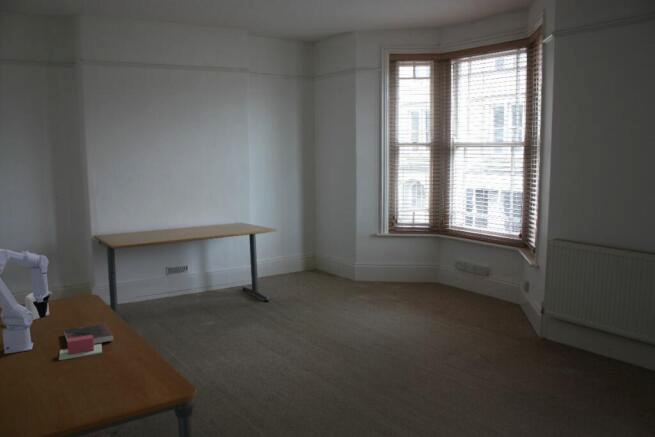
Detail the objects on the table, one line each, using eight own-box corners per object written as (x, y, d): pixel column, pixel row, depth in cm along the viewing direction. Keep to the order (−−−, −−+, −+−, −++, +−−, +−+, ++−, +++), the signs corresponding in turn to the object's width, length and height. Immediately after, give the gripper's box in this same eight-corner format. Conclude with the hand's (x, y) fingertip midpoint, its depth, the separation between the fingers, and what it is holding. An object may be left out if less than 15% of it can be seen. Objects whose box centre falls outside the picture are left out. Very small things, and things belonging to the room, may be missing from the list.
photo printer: (31, 321, 262) (28, 295, 260) (25, 320, 264) (22, 294, 262) (51, 315, 271) (48, 289, 269) (45, 314, 273) (42, 288, 271)
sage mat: (59, 360, 213) (59, 358, 213) (60, 351, 223) (60, 349, 222) (102, 353, 219) (102, 351, 219) (101, 344, 228) (101, 343, 228)
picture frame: (64, 335, 242) (69, 349, 223) (64, 329, 241) (68, 343, 223) (105, 327, 250) (113, 340, 231) (105, 322, 249) (112, 334, 230)
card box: (93, 346, 224) (92, 334, 224) (93, 350, 220) (92, 338, 220) (68, 350, 221) (67, 338, 220) (68, 354, 217) (67, 342, 216)
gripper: (49, 285, 233) (52, 317, 235) (51, 278, 246) (54, 308, 248) (30, 288, 230) (33, 320, 232) (33, 280, 243) (36, 311, 245)
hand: (43, 314), depth 240 cm, fingers open, 7 cm apart
